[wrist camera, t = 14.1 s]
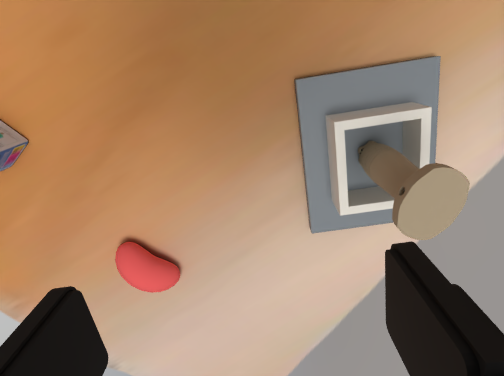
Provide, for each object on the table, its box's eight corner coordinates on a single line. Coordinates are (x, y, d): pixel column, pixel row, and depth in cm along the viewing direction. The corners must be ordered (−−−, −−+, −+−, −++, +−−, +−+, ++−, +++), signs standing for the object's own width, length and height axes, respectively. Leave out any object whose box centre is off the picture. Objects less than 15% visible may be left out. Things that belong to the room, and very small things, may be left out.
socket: (294, 79, 38) (301, 82, 33) (433, 56, 37) (465, 55, 32) (310, 228, 45) (317, 251, 40) (426, 212, 44) (451, 234, 39)
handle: (339, 169, 41) (385, 228, 27) (364, 121, 38) (429, 158, 24) (373, 182, 41) (435, 246, 27) (399, 135, 39) (482, 180, 25)
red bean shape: (155, 282, 51) (167, 307, 46) (102, 262, 45) (109, 287, 40) (175, 255, 51) (188, 276, 46) (124, 231, 46) (133, 253, 41)
